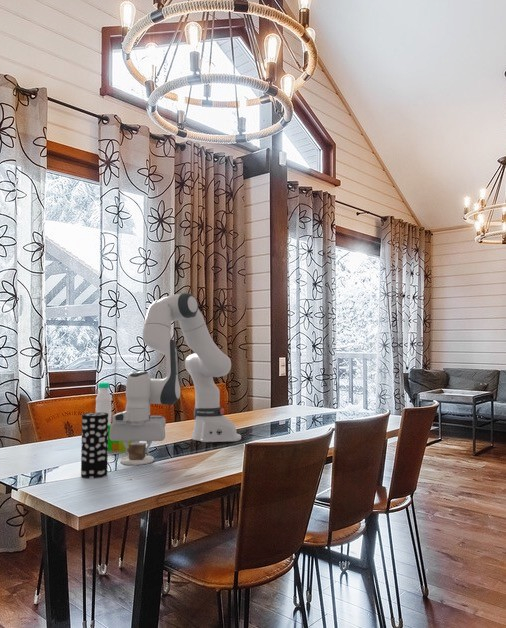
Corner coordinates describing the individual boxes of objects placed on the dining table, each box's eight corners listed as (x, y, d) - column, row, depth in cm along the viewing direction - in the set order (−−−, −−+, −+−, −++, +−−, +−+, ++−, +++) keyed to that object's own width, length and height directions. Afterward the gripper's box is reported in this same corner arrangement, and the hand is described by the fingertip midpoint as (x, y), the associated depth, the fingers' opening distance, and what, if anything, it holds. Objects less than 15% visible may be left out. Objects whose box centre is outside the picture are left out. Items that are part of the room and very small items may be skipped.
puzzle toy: (139, 447, 216) (139, 423, 217) (126, 452, 207) (126, 427, 207) (118, 445, 220) (119, 422, 220) (104, 450, 210) (105, 425, 211)
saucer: (157, 458, 197) (157, 455, 197) (149, 465, 185) (149, 462, 185) (125, 457, 197) (125, 455, 197) (116, 465, 185) (116, 462, 185)
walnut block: (145, 456, 193) (145, 442, 194) (142, 459, 188) (142, 445, 189) (132, 456, 194) (132, 442, 194) (128, 459, 189) (128, 445, 189)
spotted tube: (84, 472, 175) (85, 412, 176) (109, 471, 176) (110, 412, 177) (78, 478, 167) (79, 416, 168) (104, 478, 167) (105, 415, 169)
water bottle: (113, 436, 241) (114, 382, 242) (107, 439, 234) (108, 383, 235) (98, 436, 242) (99, 382, 243) (92, 438, 235) (93, 383, 236)
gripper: (167, 414, 195) (167, 451, 194) (113, 413, 195) (113, 450, 195) (163, 416, 188) (163, 455, 188) (108, 416, 189) (107, 454, 188)
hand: (137, 453), depth 191 cm, fingers open, 5 cm apart
